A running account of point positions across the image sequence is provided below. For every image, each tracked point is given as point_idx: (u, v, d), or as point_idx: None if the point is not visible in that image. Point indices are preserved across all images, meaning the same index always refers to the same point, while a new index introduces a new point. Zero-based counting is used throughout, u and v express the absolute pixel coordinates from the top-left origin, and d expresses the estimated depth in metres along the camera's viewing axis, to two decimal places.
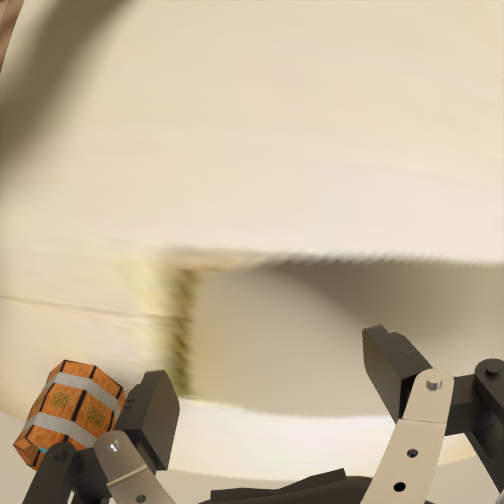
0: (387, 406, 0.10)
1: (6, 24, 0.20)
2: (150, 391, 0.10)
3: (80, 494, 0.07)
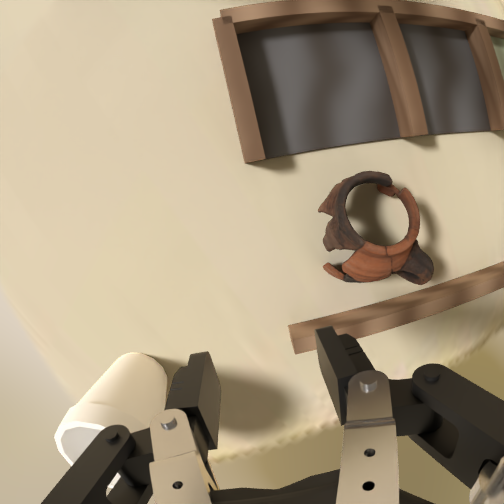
0: (334, 404, 0.11)
1: None
2: (199, 371, 0.11)
3: (126, 478, 0.08)
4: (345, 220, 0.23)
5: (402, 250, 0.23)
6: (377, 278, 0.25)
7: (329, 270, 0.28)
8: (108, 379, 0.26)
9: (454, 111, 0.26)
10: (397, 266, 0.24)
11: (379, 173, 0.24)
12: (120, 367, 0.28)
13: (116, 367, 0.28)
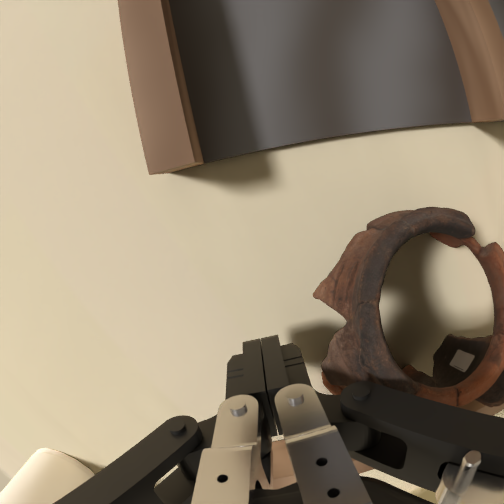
0: None
1: None
2: (257, 357, 0.11)
3: (183, 471, 0.08)
4: (378, 343, 0.09)
5: (486, 389, 0.08)
6: None
7: (332, 392, 0.14)
8: (10, 495, 0.11)
9: None
10: None
11: (450, 212, 0.10)
12: (29, 476, 0.14)
13: (24, 474, 0.14)
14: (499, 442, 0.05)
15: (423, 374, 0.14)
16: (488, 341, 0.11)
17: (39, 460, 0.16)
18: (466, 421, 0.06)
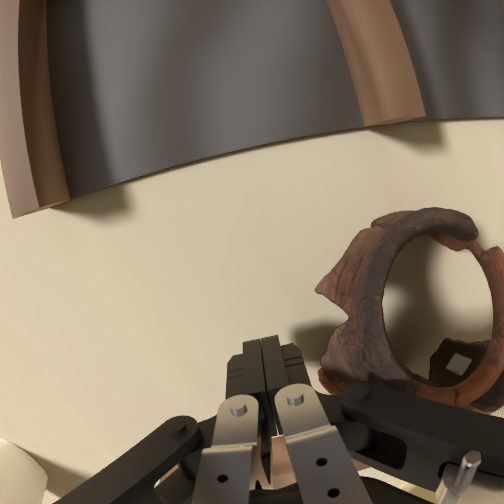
0: None
1: None
2: (257, 357, 0.11)
3: (183, 471, 0.08)
4: (380, 339, 0.09)
5: (483, 391, 0.08)
6: None
7: (328, 390, 0.14)
8: None
9: (476, 76, 0.12)
10: None
11: (455, 213, 0.10)
12: None
13: None
14: (499, 442, 0.05)
15: (419, 376, 0.14)
16: (486, 345, 0.11)
17: None
18: (465, 421, 0.06)
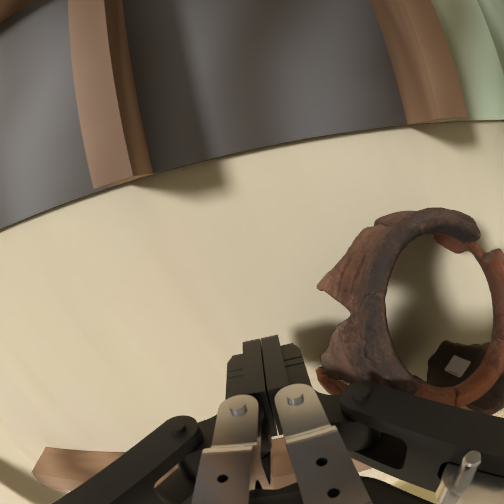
0: None
1: None
2: (257, 357, 0.11)
3: (183, 471, 0.08)
4: (382, 336, 0.09)
5: (483, 392, 0.08)
6: None
7: (326, 389, 0.14)
8: None
9: (283, 89, 0.12)
10: None
11: (458, 214, 0.10)
12: None
13: None
14: (499, 442, 0.05)
15: (417, 378, 0.14)
16: (485, 348, 0.11)
17: None
18: (465, 421, 0.06)
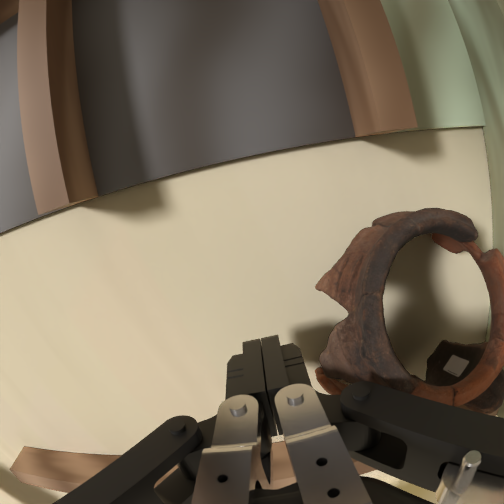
0: None
1: None
2: (257, 357, 0.11)
3: (183, 471, 0.08)
4: (380, 335, 0.09)
5: (481, 391, 0.08)
6: None
7: (325, 388, 0.14)
8: None
9: (219, 108, 0.12)
10: None
11: (455, 215, 0.10)
12: None
13: None
14: (499, 442, 0.05)
15: (416, 378, 0.15)
16: (483, 347, 0.11)
17: None
18: (466, 421, 0.06)
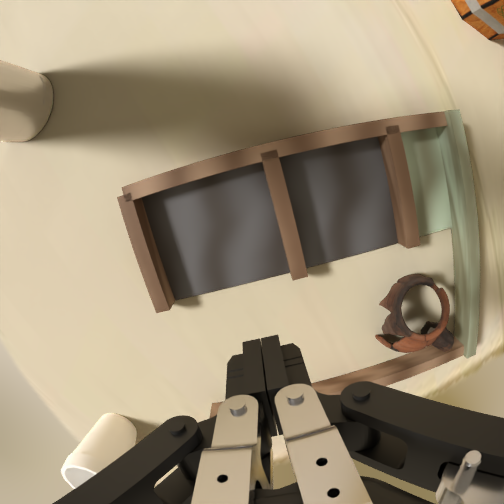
0: None
1: None
2: (257, 357, 0.11)
3: (183, 471, 0.08)
4: (400, 318, 0.31)
5: (435, 336, 0.30)
6: (415, 350, 0.33)
7: (381, 341, 0.36)
8: (92, 435, 0.36)
9: (352, 235, 0.34)
10: (430, 343, 0.32)
11: (425, 278, 0.32)
12: (101, 425, 0.38)
13: (99, 425, 0.38)
14: (499, 442, 0.05)
15: None
16: None
17: (106, 418, 0.40)
18: (466, 421, 0.06)
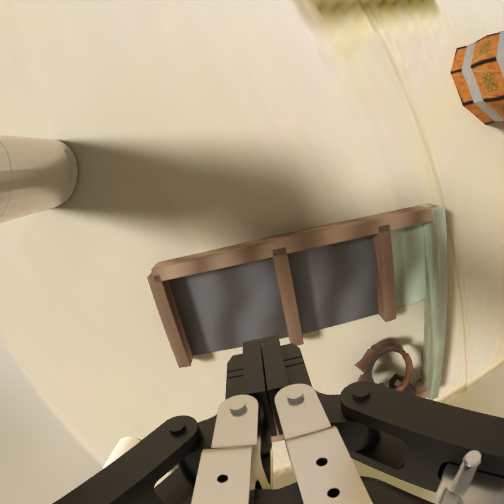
0: None
1: (181, 260, 0.38)
2: (257, 357, 0.11)
3: (183, 471, 0.08)
4: (371, 379, 0.39)
5: None
6: None
7: None
8: (116, 458, 0.41)
9: (341, 309, 0.42)
10: None
11: (394, 346, 0.40)
12: (122, 449, 0.44)
13: (120, 449, 0.44)
14: (499, 442, 0.05)
15: None
16: None
17: (125, 442, 0.46)
18: (466, 421, 0.06)
